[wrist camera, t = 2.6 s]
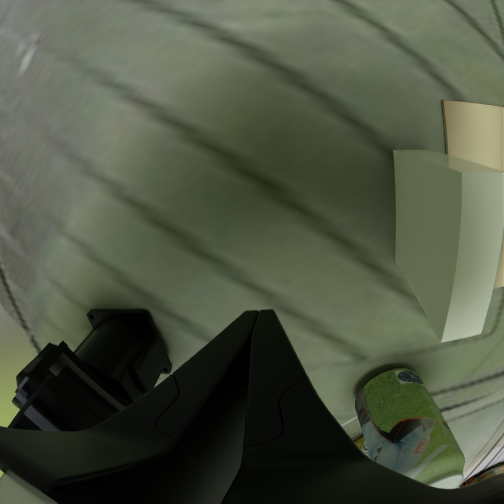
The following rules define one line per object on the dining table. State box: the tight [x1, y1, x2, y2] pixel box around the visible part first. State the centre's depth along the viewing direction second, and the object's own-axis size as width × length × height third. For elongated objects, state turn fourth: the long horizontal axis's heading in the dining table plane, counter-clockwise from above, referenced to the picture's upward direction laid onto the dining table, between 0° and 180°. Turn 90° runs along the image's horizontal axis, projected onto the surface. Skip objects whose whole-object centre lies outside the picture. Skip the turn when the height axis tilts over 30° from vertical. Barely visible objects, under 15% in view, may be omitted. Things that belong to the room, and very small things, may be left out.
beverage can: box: [355, 368, 465, 489], centre depth 16 cm, size 6×7×12 cm
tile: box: [393, 149, 504, 343], centre depth 12 cm, size 2×7×8 cm, turn 9°
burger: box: [459, 465, 504, 488], centre depth 28 cm, size 12×12×8 cm
